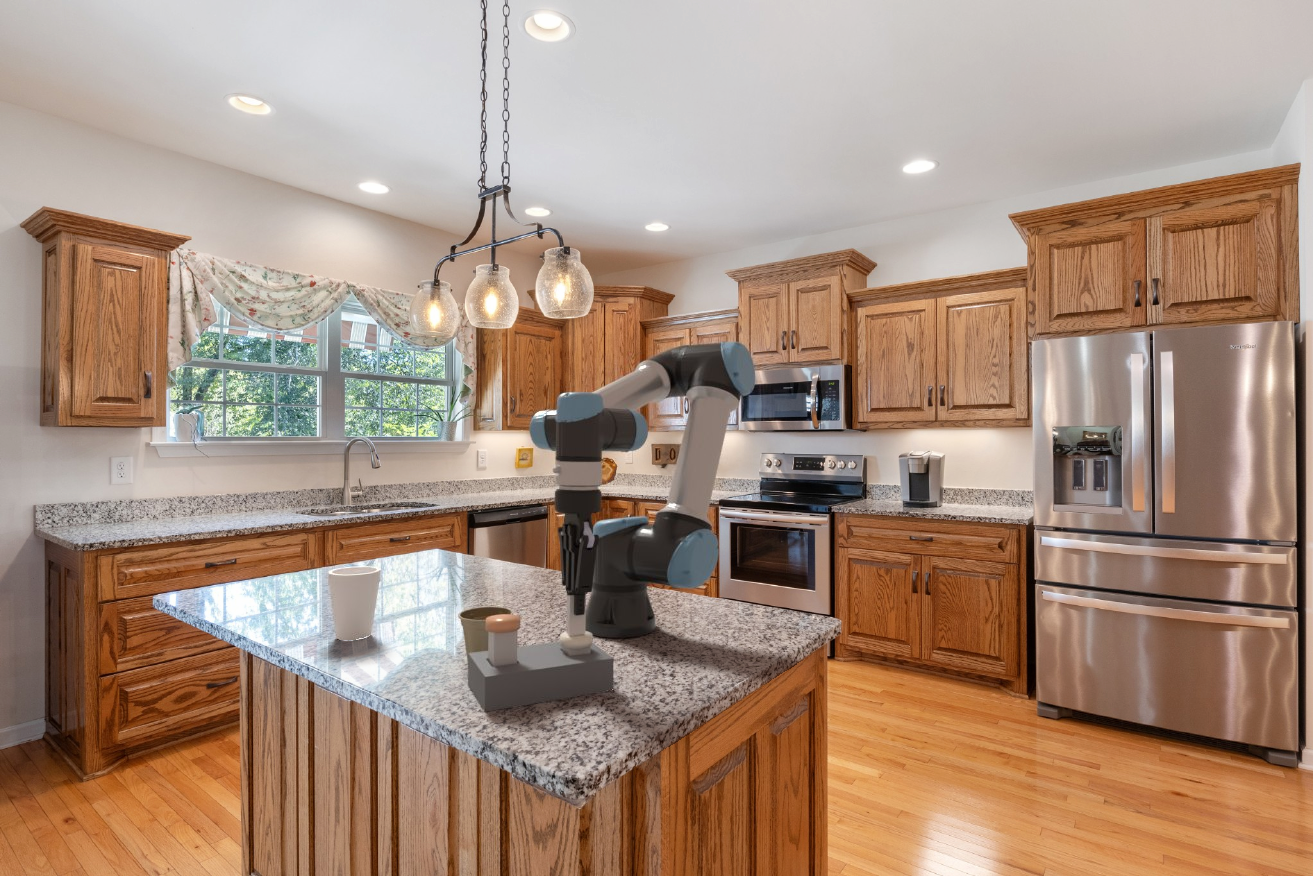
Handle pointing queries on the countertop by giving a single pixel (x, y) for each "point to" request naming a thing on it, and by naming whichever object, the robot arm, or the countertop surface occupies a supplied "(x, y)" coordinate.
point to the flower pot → (478, 626)
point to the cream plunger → (576, 643)
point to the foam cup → (354, 600)
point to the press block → (538, 676)
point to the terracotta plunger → (502, 639)
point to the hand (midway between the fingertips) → (575, 633)
